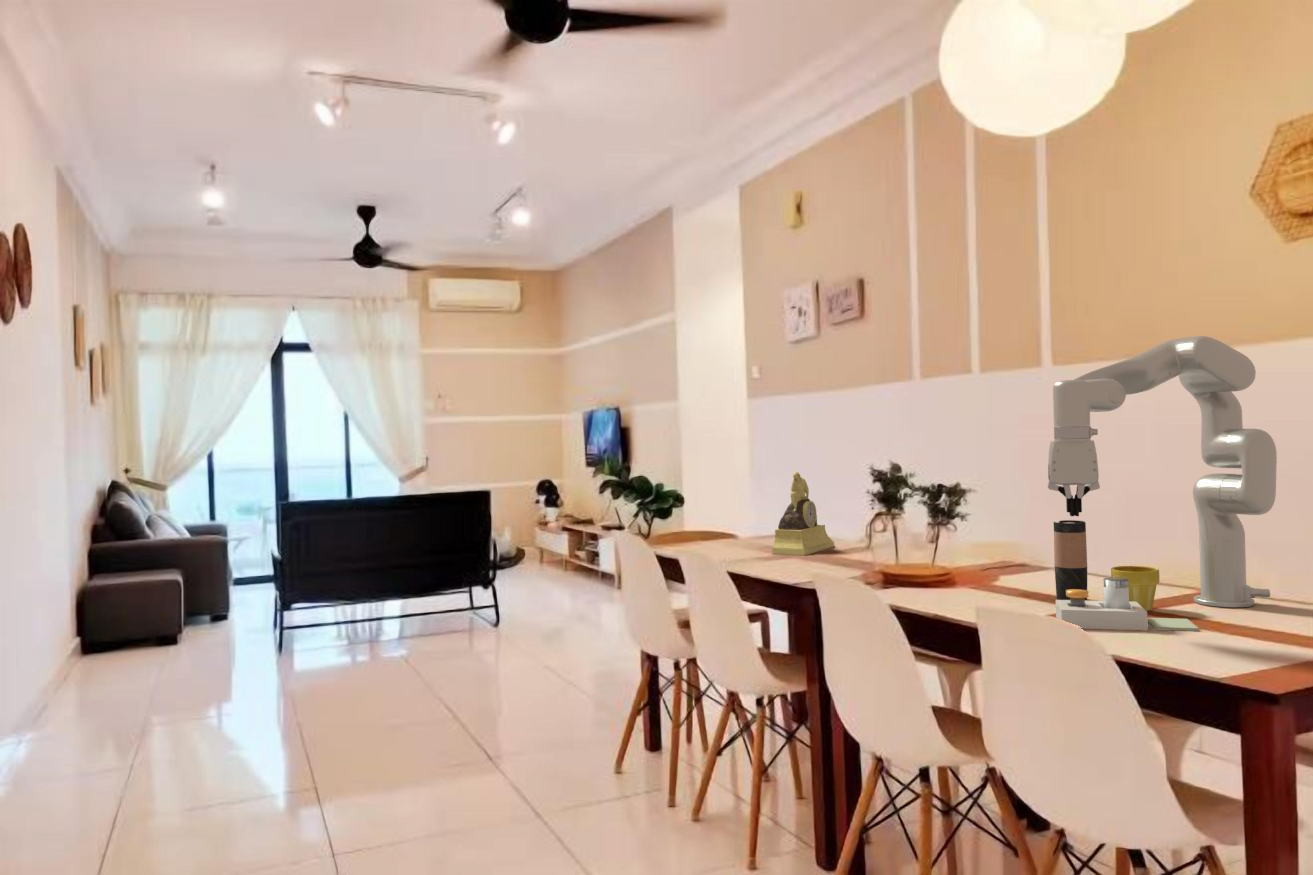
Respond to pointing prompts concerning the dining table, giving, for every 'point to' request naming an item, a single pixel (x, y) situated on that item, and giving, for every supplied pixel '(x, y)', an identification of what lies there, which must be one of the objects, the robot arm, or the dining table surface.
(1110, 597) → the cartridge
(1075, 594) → the plunger
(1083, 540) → the travel mug
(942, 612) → the dining table surface
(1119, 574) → the plant pot
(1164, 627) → the mat
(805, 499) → the decorative clock
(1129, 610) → the housing
